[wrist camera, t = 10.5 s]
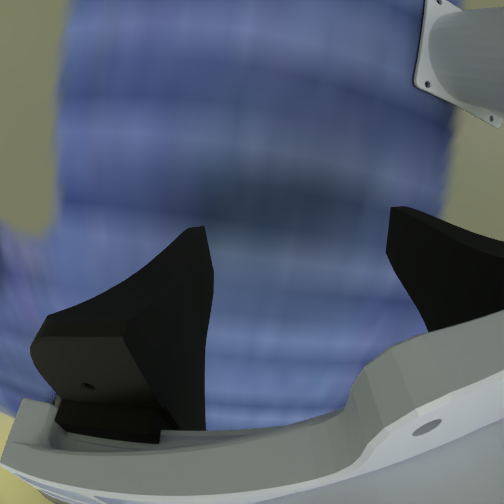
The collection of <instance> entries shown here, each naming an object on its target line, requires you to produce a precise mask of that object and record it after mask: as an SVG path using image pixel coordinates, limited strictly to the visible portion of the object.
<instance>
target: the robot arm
mask: <svg viewBox="0 0 504 504" xmlns="http://www.w3.org/2000/svg"><path fill="white" fill-rule="evenodd" d="M438 1H439V4H438V3H437V0H425V8H424V17H423V25H422V33H421V40H420V47H419V53H418V59H417V65H416V70H415V75H414V84H415V86H416V87H417V88H419V89H421V90H424V91H426V92H428V93H430V94H433V95H435V96H437V97H439V98H441V99H443V100H445V101H447V102H449V103H451V104H453V105H455V106H457V107H459V108H461V109H463V110H465V111H467V112H469V113H471V114H473V115H474V116H476V117H478V118H480V119H481V120H483V121H485V122H486V123H488V124H490V125H492V126H493V127H495V128H498V129H499V128H500V127H501V125H502V121H503V119H504V7H496V8H485V9H475V10H468V11H463V10H461V9H459V8H458V7H456V6H455V5H453V4H451V3H450V2H448V1H446V0H438ZM425 82H427V83H428V86H427V87H426V86H425ZM490 117H491V118H490ZM386 254H387V256H388V259H389V261H390V263H391V265H392V267H393V270H394V272H395V273H396V275H397V277H398V278H399V280H400V281H401V283H402V285H403V286H404V288H405V289H406V291H407V292H408V294H409V296H410V297H411V299H412V301H413V302H414V304H415V305H416V307H417V309H418V310H419V312H420V314H421V316H422V318H423V320H424V322H425V325H426V327H427V330H428V332H427V333H423V334H419V335H416V336H414V337H411V338H409V339H407V340H404V341H402V342H399V343H397V344H394V345H392V346H390V347H388V348H387V349H386V350H384V351H383V352H382V353H381V354H379V355H378V356H377V357H375V358H374V359H373V360H371V361H370V362H368V363H367V364H366V366H365V367H364V368H363V370H362V371H361V373H360V375H359V376H358V378H357V379H356V381H355V382H354V384H353V385H352V387H351V390H350V394H349V398H348V402H347V405H346V406H345V407H344V408H341V409H338V410H335V411H332V412H329V413H326V414H323V415H320V416H317V417H314V418H310V419H307V420H304V421H300V422H297V423H293V424H290V425H285V426H277V427H266V428H255V429H240V430H217V431H206V422H205V346H206V337H207V331H208V325H209V318H210V312H211V306H212V299H213V288H214V271H213V266H212V261H211V256H210V251H209V246H208V241H207V236H206V231H205V226H200V227H192V228H188V229H186V230H185V231H184V232H183V233H182V234H180V235H179V236H178V237H177V238H176V239H175V240H174V241H173V242H172V243H171V244H170V245H169V246H168V247H167V248H165V249H164V250H163V251H162V252H161V253H160V254H159V255H157V256H156V257H155V258H154V259H153V260H152V261H150V262H149V263H148V264H147V265H146V266H144V267H143V268H142V269H140V270H139V271H138V272H136V273H135V274H133V275H132V276H130V277H129V278H128V279H126V280H124V281H123V282H121V283H119V284H118V285H116V286H114V287H112V288H111V289H109V290H107V291H106V292H104V293H102V294H100V295H98V296H96V297H94V298H92V299H89V300H87V301H85V302H83V303H80V304H78V305H76V306H73V307H70V308H67V309H65V310H62V311H59V312H56V313H54V314H50V315H48V316H47V317H46V319H45V321H44V323H43V324H42V326H41V328H40V330H39V332H38V333H37V335H36V337H35V339H34V341H33V343H32V344H31V346H30V355H31V357H32V360H33V363H34V365H35V367H36V368H37V370H38V371H39V373H40V374H41V375H42V376H43V378H44V379H45V380H46V381H47V383H48V384H49V385H50V386H51V387H52V388H53V390H54V391H55V392H56V393H57V394H58V395H59V397H60V398H61V399H62V400H61V403H60V406H59V408H57V407H56V406H54V405H52V404H50V403H47V402H42V401H37V400H32V399H27V398H24V399H23V400H22V403H21V405H20V408H19V410H18V412H17V415H16V417H15V420H14V423H13V425H12V428H11V431H10V433H9V436H8V439H7V442H6V445H5V448H4V450H3V454H2V457H1V460H0V465H1V466H2V467H4V468H5V469H6V470H8V471H9V472H11V473H12V474H14V475H16V476H17V477H19V478H20V479H22V480H23V481H25V482H26V483H28V484H30V485H32V486H33V487H35V488H37V489H38V490H40V491H42V492H44V493H46V494H47V495H49V496H51V497H54V498H57V499H59V500H62V501H65V502H68V503H71V504H504V242H503V241H499V240H495V239H492V238H488V237H485V236H482V235H479V234H476V233H473V232H470V231H468V230H465V229H462V228H460V227H457V226H455V225H452V224H450V223H448V222H446V221H443V220H441V219H438V218H436V217H434V216H431V215H429V214H426V213H424V212H421V211H419V210H416V209H413V208H409V207H405V206H401V207H391V210H390V220H389V229H388V238H387V246H386Z"/></svg>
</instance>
